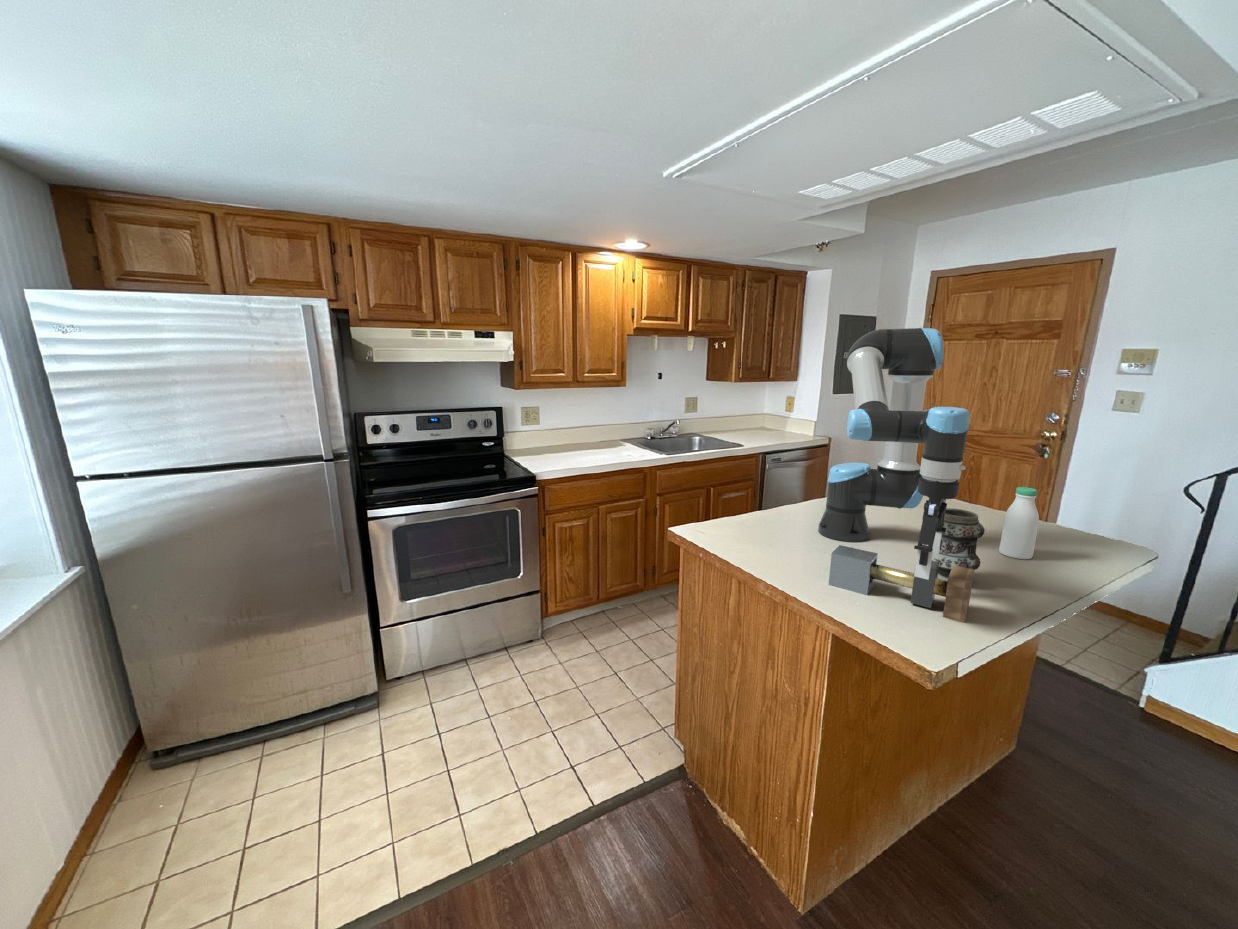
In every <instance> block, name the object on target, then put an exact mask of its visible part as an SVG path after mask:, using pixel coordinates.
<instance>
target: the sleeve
mask: <svg viewBox="0 0 1238 929" xmlns="http://www.w3.org/2000/svg"><path fill="white" fill-rule="evenodd" d="M878 554H879V553H878V552H877V553H876V552H873V551H867V550H863V549H859V548H855V547H851V546H846V545H842V544H839V545H838V546H837V547H836V548H835V549H834V550H833V551H832V552H831V555H830V566H829V577H828V578H829V579H828V585H829V586H832V587H836V588H840V589H843V590H847V589H848V590H847V591H850V590H851V592H854V593H859V594H863V595H866V596H867V595H869V594H870V592H871V590H872V589H873V588H874V586H875V582H876V581H875V580H876V579H872V578H870V573H871V564H872V563H873V564H877V563H878V556H879V555H878ZM877 565H878V564H877Z"/></svg>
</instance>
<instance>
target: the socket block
mask: <svg viewBox="0 0 1238 929" xmlns="http://www.w3.org/2000/svg"><path fill="white" fill-rule="evenodd" d="M974 574H975V570H974V569H969V568H964V567H960V566H955V565H953V567H952V569H951V572H950V575H949V578H948V585H947V592H946V597H944V598H945V599H944V607H943V612H942V617H943V618H946V619H951V620H954V621H958V622H960V623H966V621H967V620H966V618H967V615H968V611H969V607H970V606H969V605H970V600H971V593H972V588H973V581H974Z"/></svg>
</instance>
